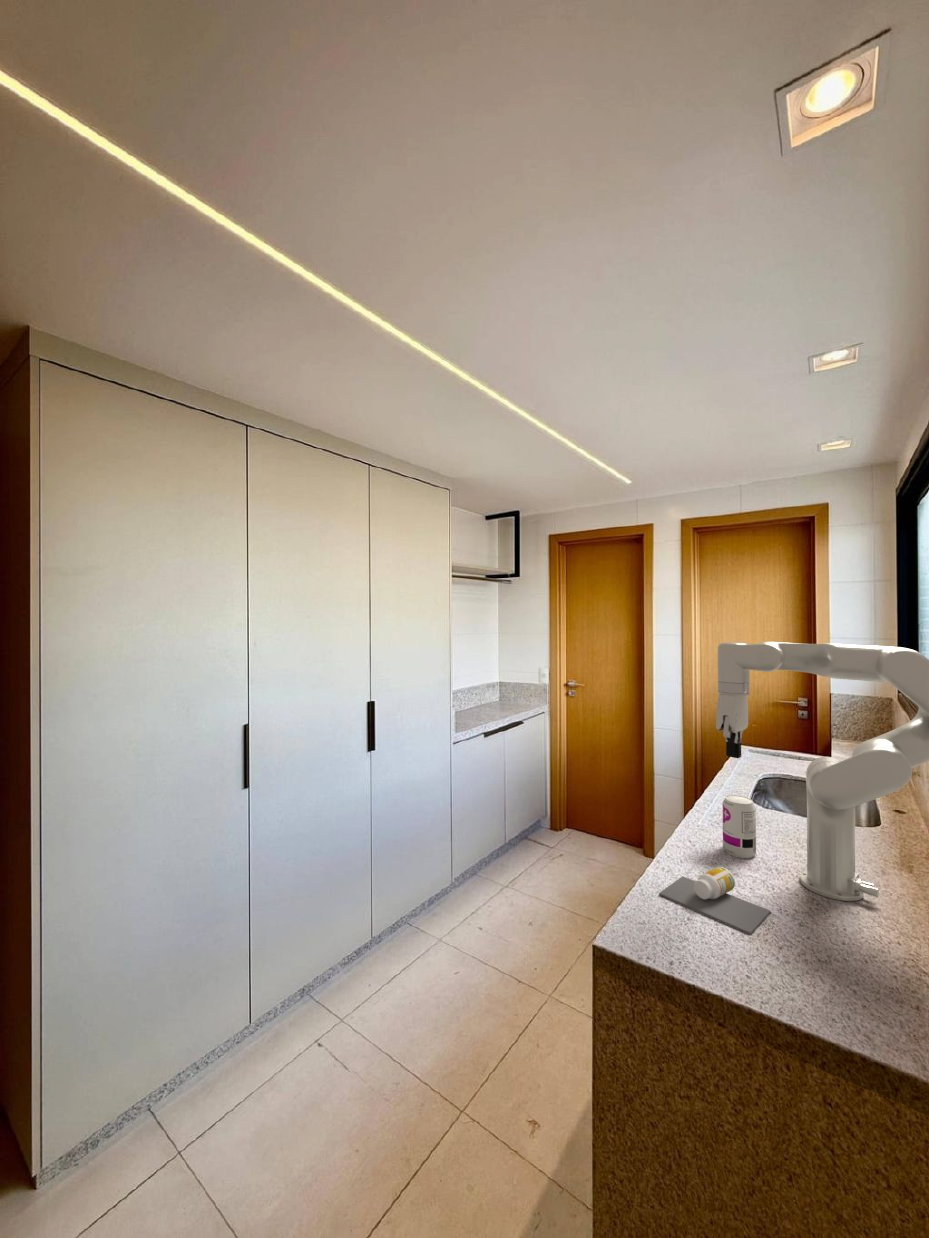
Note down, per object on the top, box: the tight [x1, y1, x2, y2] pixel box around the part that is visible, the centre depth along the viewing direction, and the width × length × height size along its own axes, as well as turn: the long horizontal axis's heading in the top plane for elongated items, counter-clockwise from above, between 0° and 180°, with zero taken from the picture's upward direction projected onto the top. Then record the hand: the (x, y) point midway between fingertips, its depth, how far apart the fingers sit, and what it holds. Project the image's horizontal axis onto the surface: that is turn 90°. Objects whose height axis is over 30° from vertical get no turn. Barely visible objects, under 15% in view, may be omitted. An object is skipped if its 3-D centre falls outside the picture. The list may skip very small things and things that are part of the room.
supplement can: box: [722, 794, 757, 859], centre depth 140 cm, size 8×8×15 cm
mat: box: [658, 875, 772, 936], centre depth 114 cm, size 20×12×1 cm, turn 41°
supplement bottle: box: [694, 866, 736, 899], centre depth 117 cm, size 5×5×10 cm
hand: (733, 756), depth 133 cm, fingers closed
